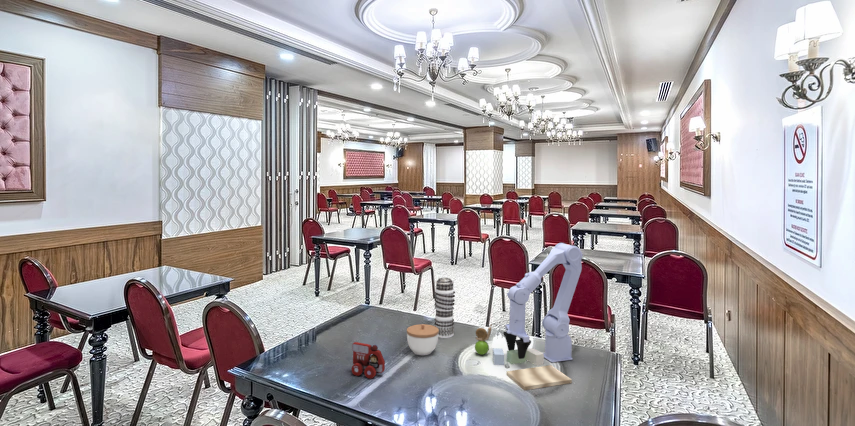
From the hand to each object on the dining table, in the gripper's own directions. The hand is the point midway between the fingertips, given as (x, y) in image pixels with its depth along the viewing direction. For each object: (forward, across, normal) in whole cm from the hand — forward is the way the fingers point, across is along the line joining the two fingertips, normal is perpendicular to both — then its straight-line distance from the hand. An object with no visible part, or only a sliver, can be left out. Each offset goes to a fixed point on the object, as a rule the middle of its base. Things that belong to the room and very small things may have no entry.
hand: (516, 354), depth 161 cm
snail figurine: (+3, -10, -9) cm, 14 cm away
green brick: (+3, 0, 0) cm, 3 cm away
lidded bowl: (+3, -19, -31) cm, 36 cm away
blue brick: (+3, -2, -6) cm, 7 cm away
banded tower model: (+3, -35, -16) cm, 39 cm away
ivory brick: (+3, +2, +7) cm, 7 cm away
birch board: (+3, +15, 0) cm, 15 cm away
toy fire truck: (+3, -6, -55) cm, 55 cm away
